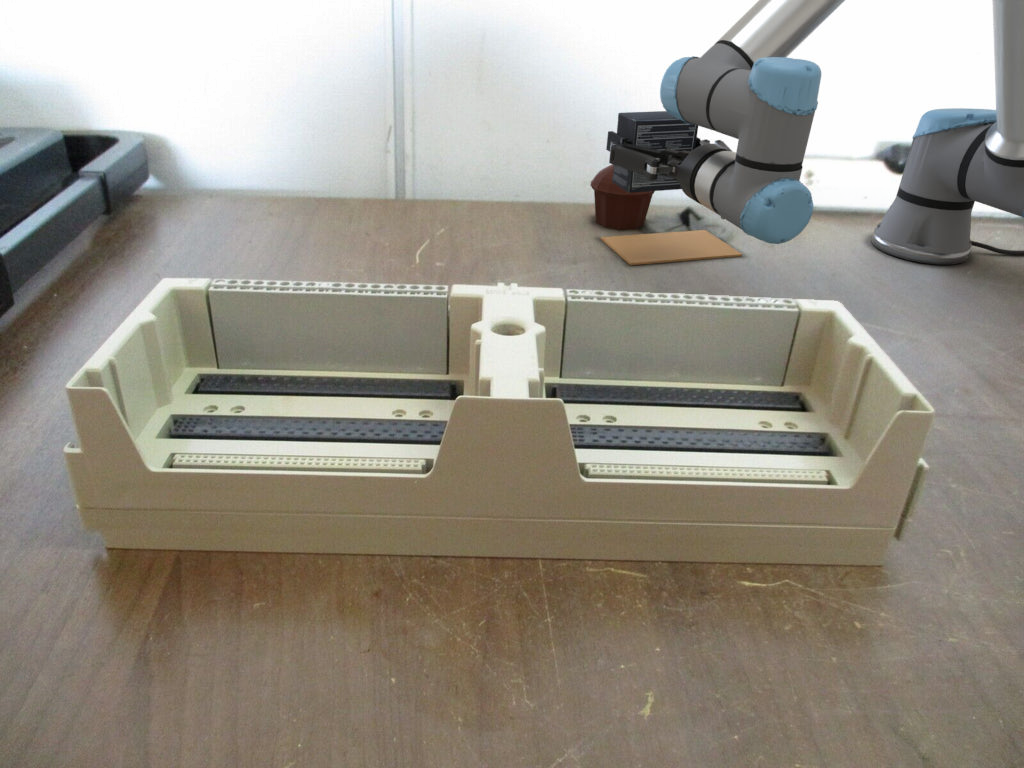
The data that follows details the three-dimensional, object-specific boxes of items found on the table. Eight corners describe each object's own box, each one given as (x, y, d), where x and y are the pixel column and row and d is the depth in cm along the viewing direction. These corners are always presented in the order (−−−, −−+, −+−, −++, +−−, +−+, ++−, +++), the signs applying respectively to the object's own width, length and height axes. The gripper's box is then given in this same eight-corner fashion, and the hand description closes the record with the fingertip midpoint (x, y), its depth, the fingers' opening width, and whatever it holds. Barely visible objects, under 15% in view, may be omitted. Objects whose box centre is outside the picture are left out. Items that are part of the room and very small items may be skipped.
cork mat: (705, 231, 135) (705, 229, 135) (741, 256, 125) (742, 254, 125) (600, 239, 129) (600, 237, 129) (630, 265, 119) (630, 263, 119)
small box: (671, 177, 121) (681, 108, 115) (691, 189, 115) (703, 117, 110) (609, 181, 118) (617, 110, 112) (627, 193, 112) (636, 119, 107)
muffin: (625, 208, 145) (631, 154, 139) (664, 226, 137) (672, 170, 131) (574, 216, 139) (578, 161, 134) (611, 235, 131) (618, 177, 126)
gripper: (633, 213, 98) (571, 167, 116) (787, 202, 104) (705, 160, 122) (641, 153, 94) (575, 115, 112) (800, 146, 100) (713, 111, 118)
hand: (643, 139), depth 117 cm, fingers closed on small box, 10 cm apart
